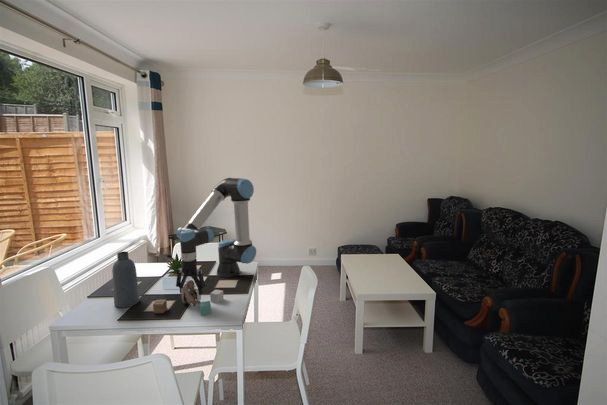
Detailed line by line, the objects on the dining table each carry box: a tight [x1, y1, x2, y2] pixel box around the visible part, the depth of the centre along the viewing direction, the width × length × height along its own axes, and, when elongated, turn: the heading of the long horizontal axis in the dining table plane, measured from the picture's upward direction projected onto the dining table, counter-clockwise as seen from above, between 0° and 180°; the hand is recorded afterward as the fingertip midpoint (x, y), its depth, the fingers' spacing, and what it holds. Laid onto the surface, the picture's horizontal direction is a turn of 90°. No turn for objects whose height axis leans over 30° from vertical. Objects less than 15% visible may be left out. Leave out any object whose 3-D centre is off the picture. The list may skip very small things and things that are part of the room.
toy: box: [180, 279, 199, 306], centre depth 175 cm, size 9×8×15 cm
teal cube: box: [199, 300, 212, 317], centre depth 166 cm, size 5×5×5 cm
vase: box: [112, 251, 141, 309], centre depth 175 cm, size 12×12×28 cm
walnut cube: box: [152, 299, 168, 314], centre depth 168 cm, size 5×5×5 cm
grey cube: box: [209, 289, 224, 304], centre depth 180 cm, size 5×5×5 cm
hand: (191, 299), depth 176 cm, fingers closed on toy, 8 cm apart
